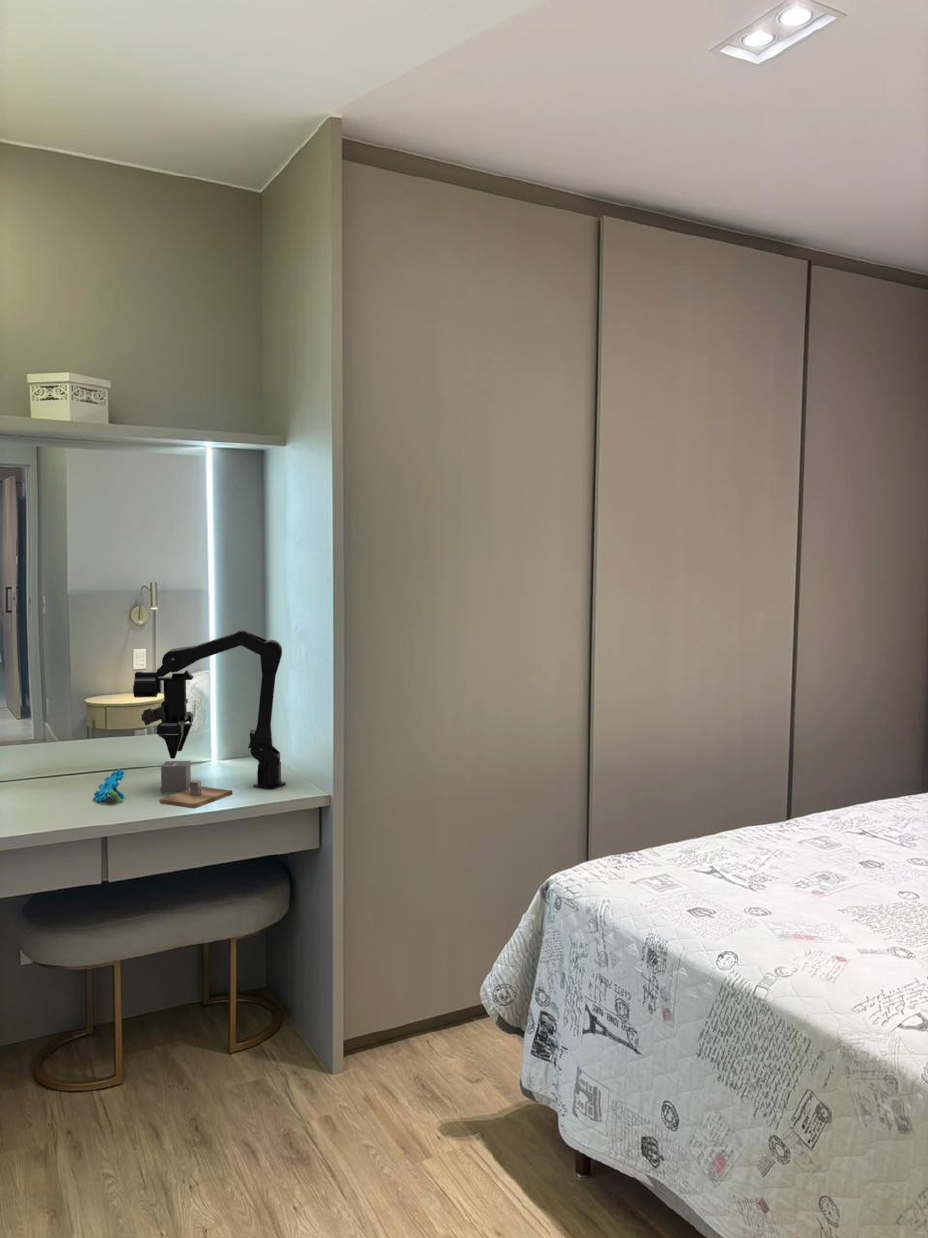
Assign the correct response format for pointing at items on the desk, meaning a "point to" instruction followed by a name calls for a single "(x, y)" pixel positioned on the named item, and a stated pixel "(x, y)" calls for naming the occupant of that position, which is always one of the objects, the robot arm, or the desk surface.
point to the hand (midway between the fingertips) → (176, 754)
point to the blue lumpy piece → (110, 787)
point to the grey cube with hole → (175, 776)
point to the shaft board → (196, 796)
